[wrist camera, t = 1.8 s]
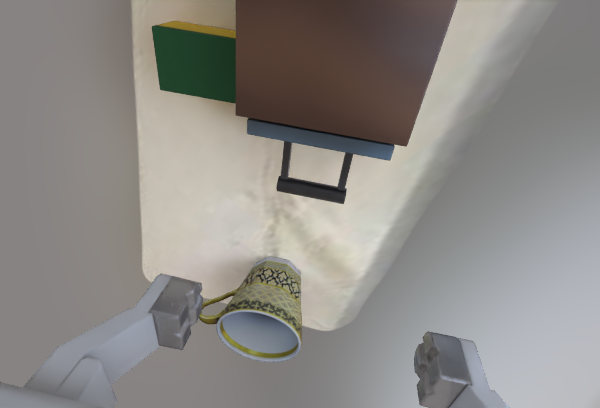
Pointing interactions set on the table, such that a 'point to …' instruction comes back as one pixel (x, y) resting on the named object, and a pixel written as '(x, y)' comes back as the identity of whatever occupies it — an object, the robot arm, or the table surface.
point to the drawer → (322, 141)
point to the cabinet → (338, 63)
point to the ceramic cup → (263, 313)
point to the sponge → (196, 60)
